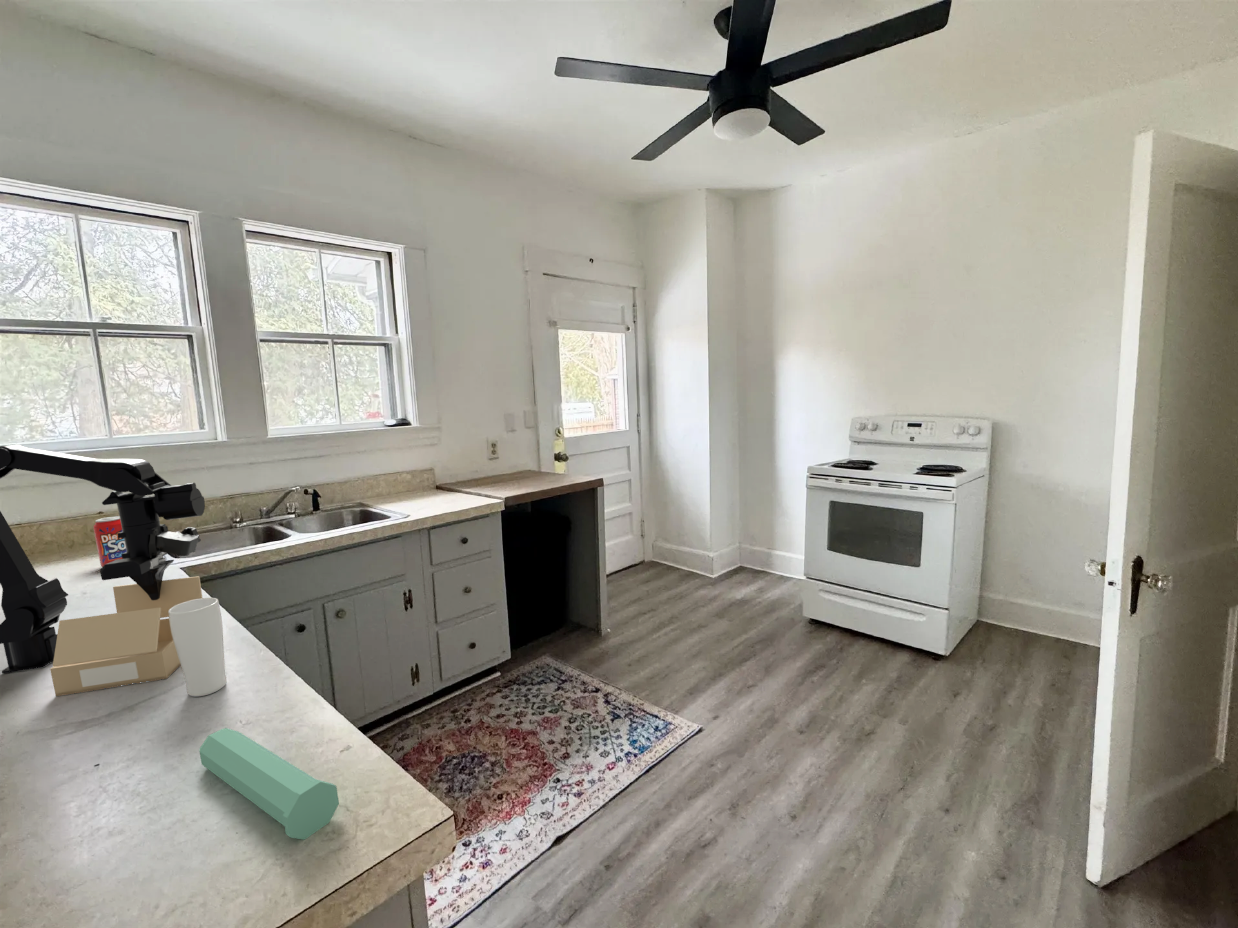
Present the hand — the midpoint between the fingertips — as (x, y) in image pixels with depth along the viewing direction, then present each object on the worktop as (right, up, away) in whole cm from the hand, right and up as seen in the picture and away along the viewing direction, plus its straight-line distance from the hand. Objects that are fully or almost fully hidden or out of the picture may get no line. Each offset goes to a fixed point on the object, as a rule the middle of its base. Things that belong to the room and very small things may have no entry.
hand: (156, 599), depth 111 cm
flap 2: (0, 0, +1) cm, 1 cm away
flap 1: (+4, -3, -15) cm, 15 cm away
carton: (+3, -10, -6) cm, 13 cm away
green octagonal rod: (+49, -14, -42) cm, 66 cm away
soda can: (-61, -4, +60) cm, 86 cm away
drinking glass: (+23, -11, -17) cm, 31 cm away
